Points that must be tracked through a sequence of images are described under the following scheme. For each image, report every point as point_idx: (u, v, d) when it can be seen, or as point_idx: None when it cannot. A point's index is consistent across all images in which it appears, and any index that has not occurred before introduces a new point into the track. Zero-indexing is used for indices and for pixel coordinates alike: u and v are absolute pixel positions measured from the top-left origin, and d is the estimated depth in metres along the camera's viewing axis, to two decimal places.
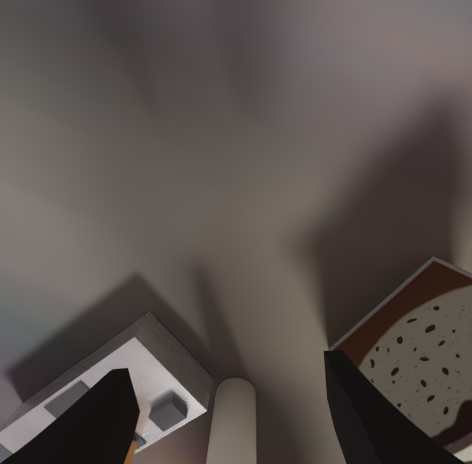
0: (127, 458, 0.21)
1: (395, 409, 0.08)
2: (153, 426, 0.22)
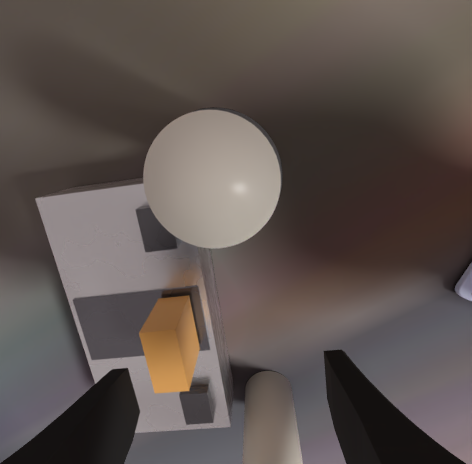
0: (176, 309, 0.14)
1: (395, 409, 0.08)
2: (177, 262, 0.15)
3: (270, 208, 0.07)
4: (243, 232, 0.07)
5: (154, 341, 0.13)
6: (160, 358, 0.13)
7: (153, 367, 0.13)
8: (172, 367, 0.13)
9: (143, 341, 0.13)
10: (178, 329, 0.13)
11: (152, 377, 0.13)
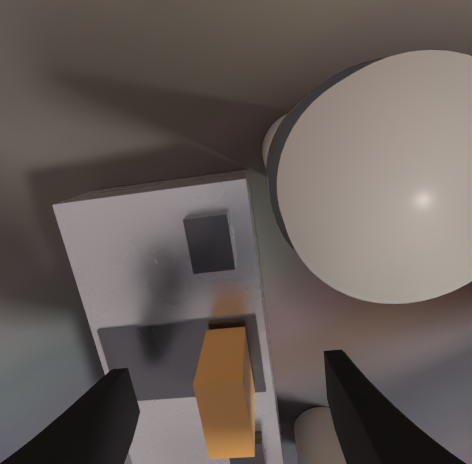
0: (234, 347, 0.11)
1: (395, 409, 0.08)
2: (231, 285, 0.12)
3: None
4: (452, 278, 0.04)
5: (213, 395, 0.10)
6: (220, 417, 0.10)
7: (209, 427, 0.10)
8: (235, 427, 0.10)
9: (198, 396, 0.10)
10: (243, 378, 0.10)
11: (207, 439, 0.10)
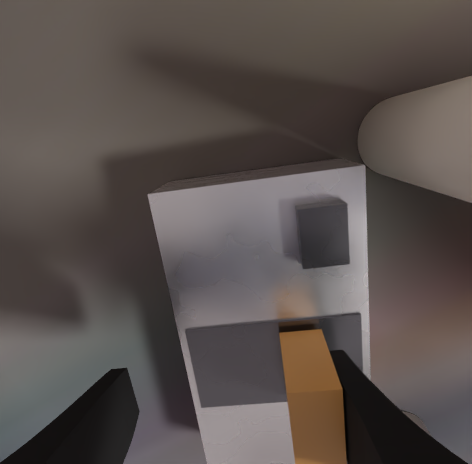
0: (318, 352, 0.10)
1: (396, 409, 0.08)
2: (336, 281, 0.11)
3: None
4: None
5: (308, 404, 0.09)
6: (313, 428, 0.09)
7: (300, 439, 0.09)
8: (328, 439, 0.09)
9: (291, 405, 0.09)
10: (339, 386, 0.09)
11: (296, 452, 0.09)
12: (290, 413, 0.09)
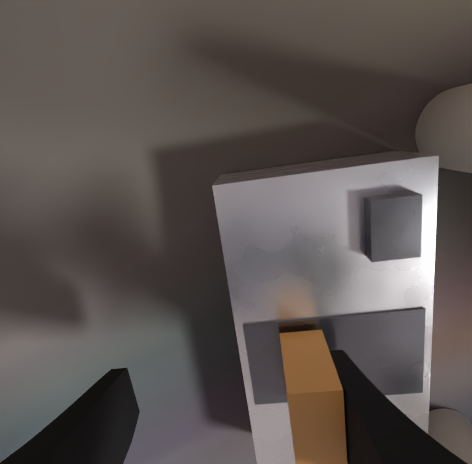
0: (319, 352, 0.10)
1: (396, 409, 0.08)
2: (401, 275, 0.11)
3: None
4: None
5: (308, 405, 0.09)
6: (313, 429, 0.09)
7: (300, 440, 0.09)
8: (329, 440, 0.09)
9: (292, 406, 0.09)
10: (340, 387, 0.09)
11: (296, 453, 0.09)
12: (290, 414, 0.09)
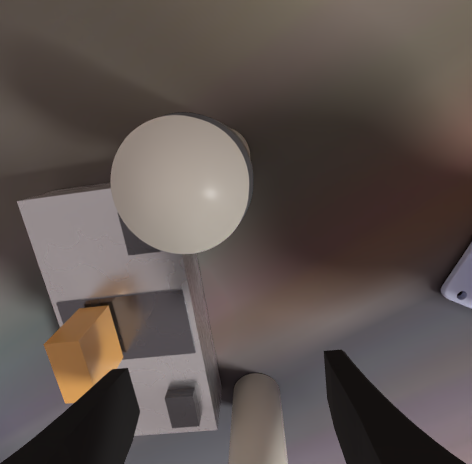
0: (90, 319, 0.14)
1: (395, 409, 0.08)
2: (161, 265, 0.15)
3: (239, 214, 0.07)
4: (212, 238, 0.07)
5: (59, 352, 0.13)
6: (67, 369, 0.13)
7: (61, 377, 0.13)
8: (79, 377, 0.13)
9: (48, 353, 0.13)
10: (84, 340, 0.13)
11: (61, 387, 0.14)
12: (49, 358, 0.13)
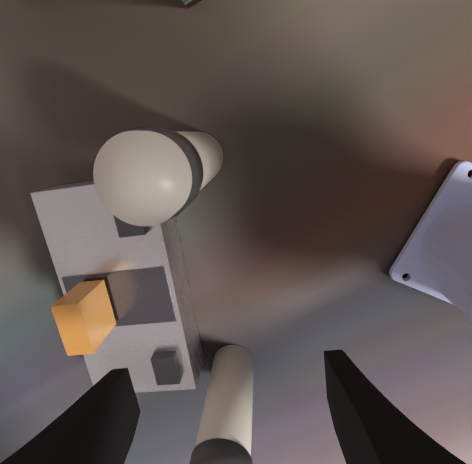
0: (88, 289, 0.18)
1: (395, 409, 0.08)
2: (146, 246, 0.18)
3: (180, 198, 0.10)
4: (163, 215, 0.10)
5: (63, 313, 0.16)
6: (68, 327, 0.17)
7: (64, 334, 0.17)
8: (78, 334, 0.17)
9: (54, 313, 0.16)
10: (82, 304, 0.17)
11: (64, 342, 0.17)
12: (55, 318, 0.17)
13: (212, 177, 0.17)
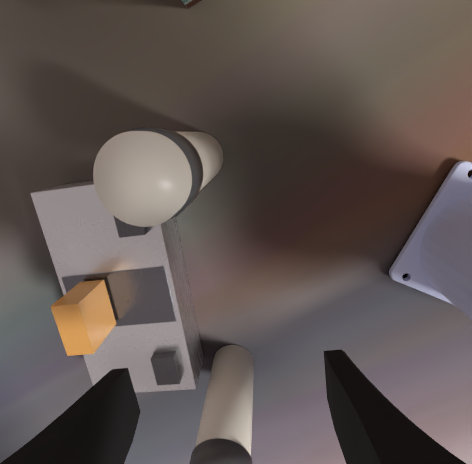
0: (88, 289, 0.18)
1: (395, 409, 0.08)
2: (146, 246, 0.18)
3: (180, 198, 0.10)
4: (163, 215, 0.10)
5: (63, 313, 0.16)
6: (68, 327, 0.17)
7: (64, 334, 0.17)
8: (78, 334, 0.17)
9: (54, 313, 0.16)
10: (82, 304, 0.17)
11: (64, 342, 0.17)
12: (55, 318, 0.17)
13: (212, 177, 0.17)
